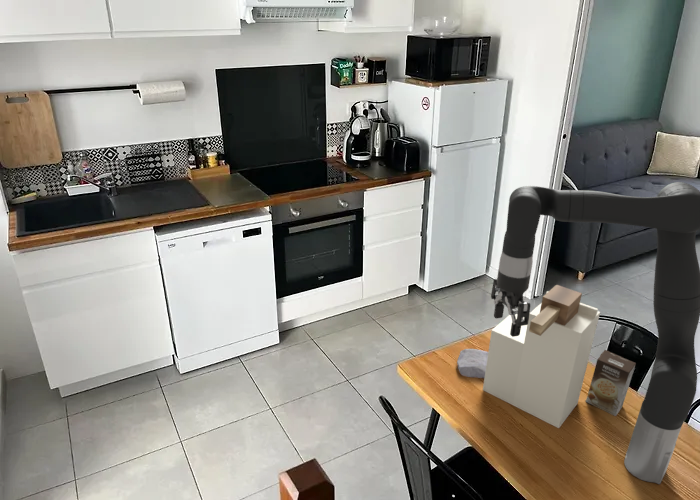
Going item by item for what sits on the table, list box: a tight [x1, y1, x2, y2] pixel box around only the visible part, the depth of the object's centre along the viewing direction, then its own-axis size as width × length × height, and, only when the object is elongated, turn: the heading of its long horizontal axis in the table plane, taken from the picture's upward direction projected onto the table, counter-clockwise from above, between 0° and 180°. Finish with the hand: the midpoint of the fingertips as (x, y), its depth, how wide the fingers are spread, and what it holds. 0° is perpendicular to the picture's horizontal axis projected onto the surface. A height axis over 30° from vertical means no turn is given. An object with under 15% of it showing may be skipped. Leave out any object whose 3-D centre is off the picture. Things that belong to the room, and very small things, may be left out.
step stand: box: [482, 290, 601, 429], centre depth 156 cm, size 24×14×34 cm, turn 48°
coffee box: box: [585, 349, 637, 417], centre depth 157 cm, size 9×6×16 cm
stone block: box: [456, 348, 488, 379], centre depth 176 cm, size 12×5×10 cm
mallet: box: [529, 284, 583, 336], centre depth 141 cm, size 7×20×6 cm, turn 138°
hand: (506, 326), depth 136 cm, fingers open, 8 cm apart
